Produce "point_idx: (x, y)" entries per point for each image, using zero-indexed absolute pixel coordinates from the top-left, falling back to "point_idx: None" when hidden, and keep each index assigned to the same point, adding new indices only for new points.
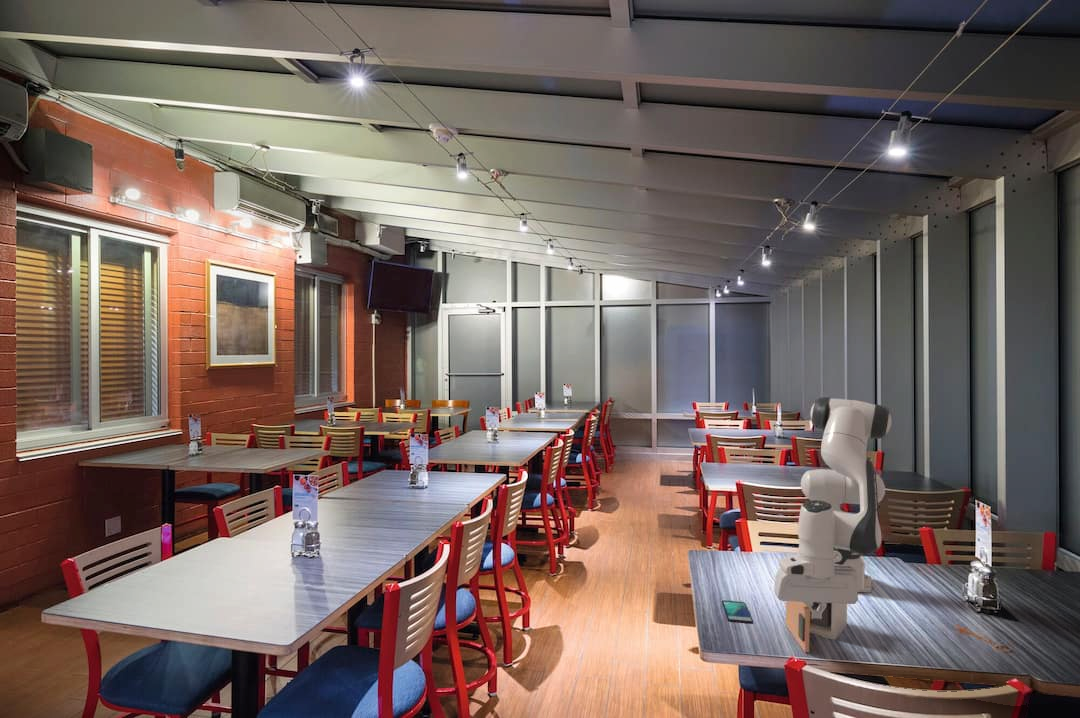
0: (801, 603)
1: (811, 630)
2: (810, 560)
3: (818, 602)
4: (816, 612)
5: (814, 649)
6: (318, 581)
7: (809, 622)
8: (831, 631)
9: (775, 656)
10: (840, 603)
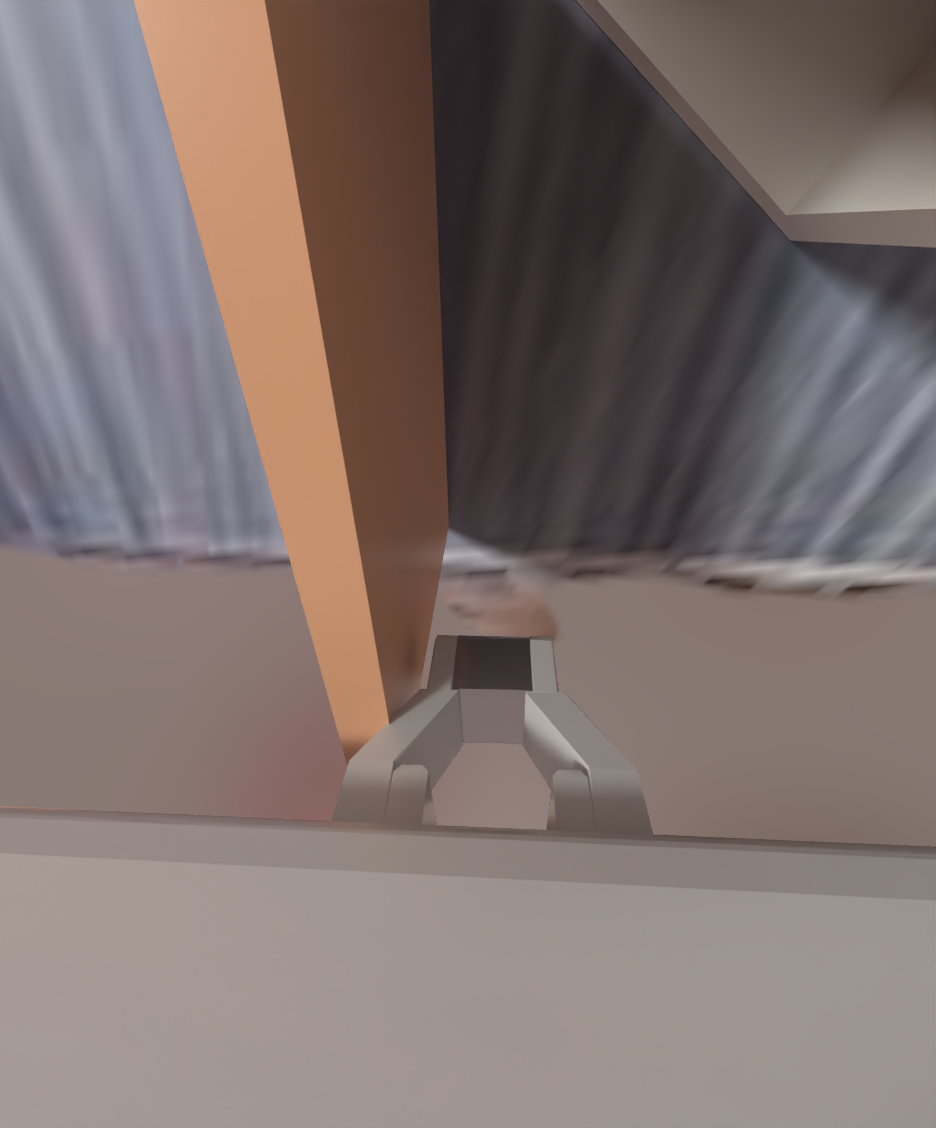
0: (329, 668)
1: (643, 60)
2: None
3: (552, 801)
4: (493, 737)
5: (511, 449)
6: None
7: (420, 673)
8: (807, 216)
9: (250, 559)
10: None
